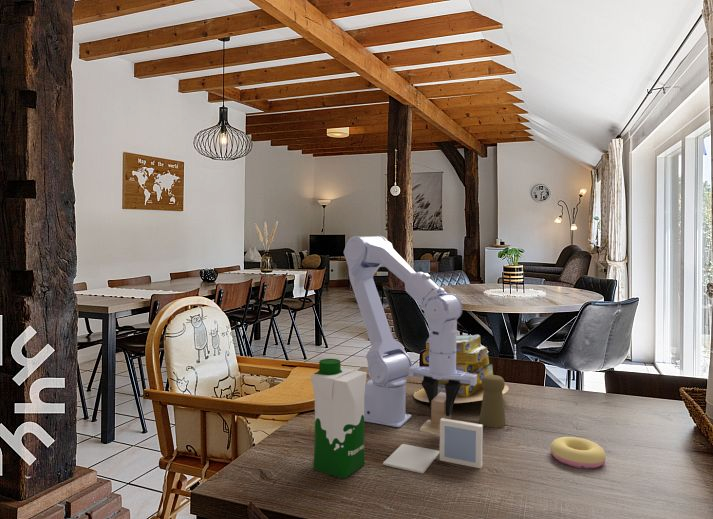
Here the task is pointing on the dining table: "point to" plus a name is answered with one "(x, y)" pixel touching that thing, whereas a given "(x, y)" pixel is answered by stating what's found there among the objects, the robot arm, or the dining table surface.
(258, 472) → the dining table surface
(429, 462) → the plate
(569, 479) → the dining table surface
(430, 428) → the tan blocky piece
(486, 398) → the cork
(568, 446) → the donut
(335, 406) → the milk carton
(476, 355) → the stacked yellow boxes plate
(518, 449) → the dining table surface
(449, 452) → the tile
